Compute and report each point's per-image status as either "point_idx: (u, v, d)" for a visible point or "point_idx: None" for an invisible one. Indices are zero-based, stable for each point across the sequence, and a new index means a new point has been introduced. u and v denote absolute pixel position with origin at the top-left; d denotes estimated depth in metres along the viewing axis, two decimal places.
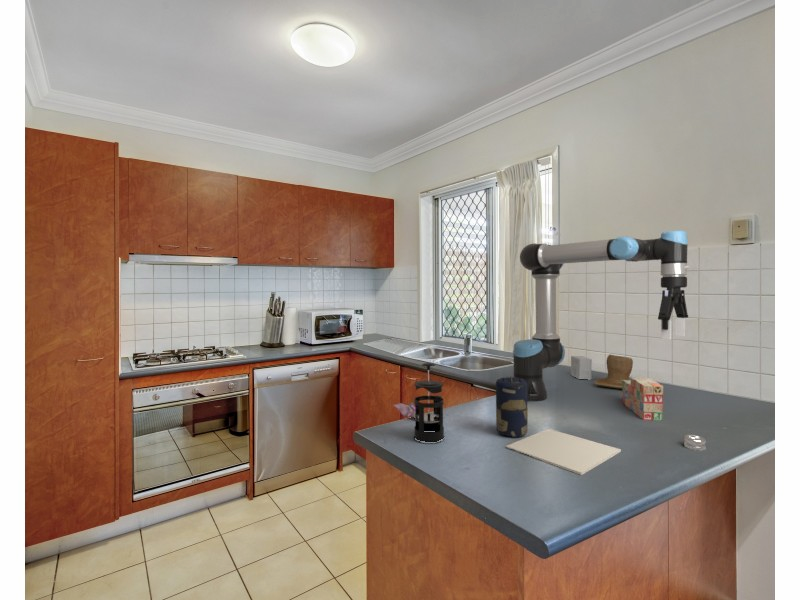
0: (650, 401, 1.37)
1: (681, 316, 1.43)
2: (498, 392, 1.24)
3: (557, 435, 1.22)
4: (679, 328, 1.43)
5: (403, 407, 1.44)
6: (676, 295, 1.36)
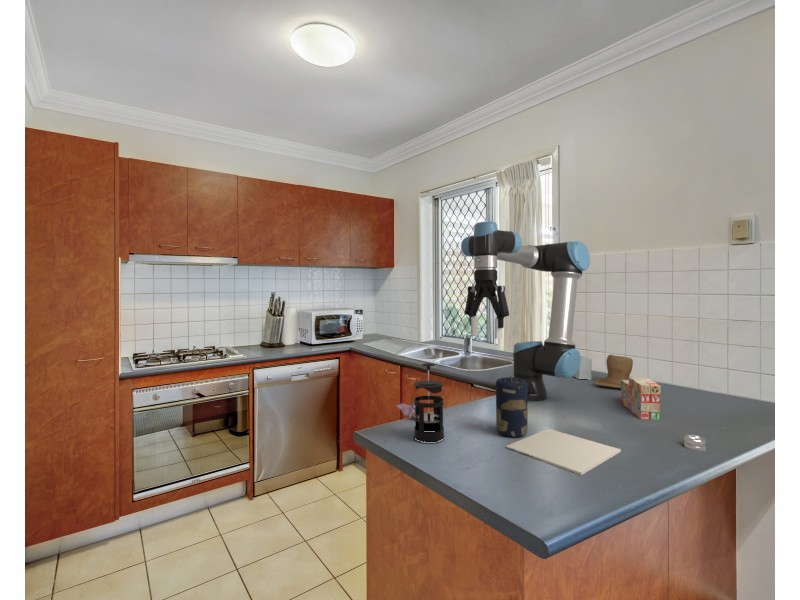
0: (647, 401, 1.38)
1: None
2: (498, 392, 1.24)
3: (557, 435, 1.22)
4: None
5: (405, 407, 1.44)
6: None
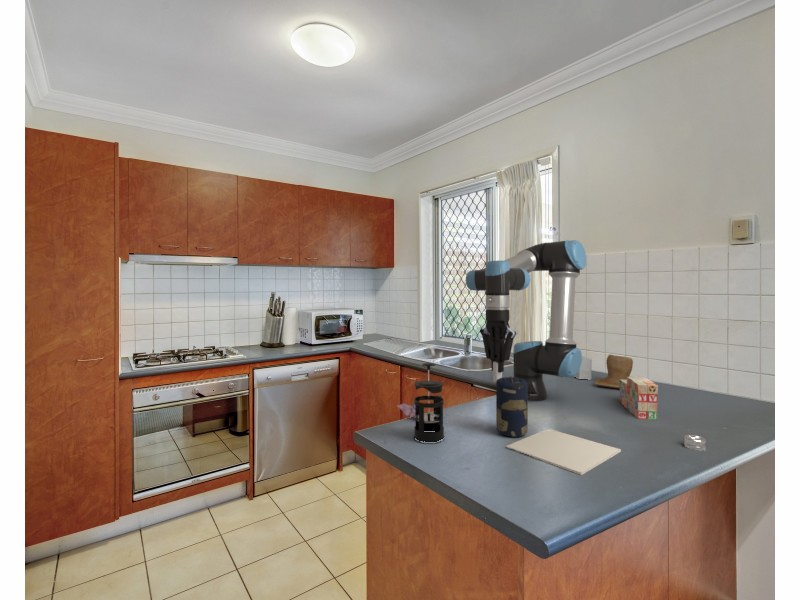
0: (645, 400, 1.38)
1: None
2: (498, 392, 1.24)
3: (557, 435, 1.22)
4: None
5: (406, 407, 1.43)
6: None
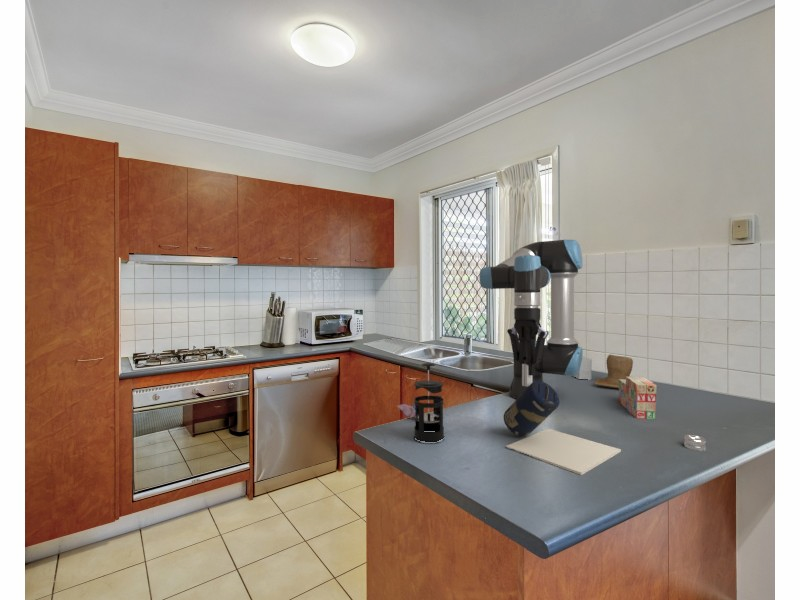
0: (643, 400, 1.39)
1: None
2: (527, 398, 1.16)
3: (557, 435, 1.22)
4: None
5: (406, 408, 1.43)
6: None
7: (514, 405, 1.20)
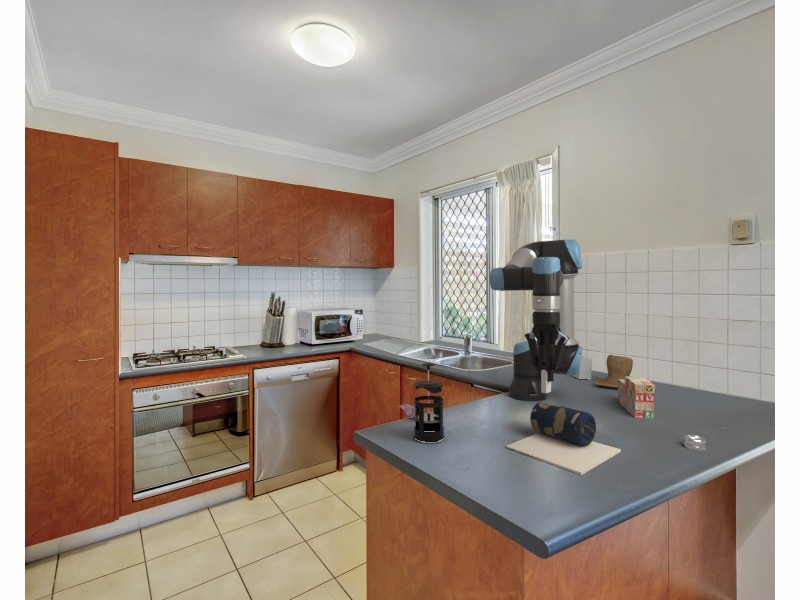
0: (642, 400, 1.39)
1: None
2: (578, 410, 1.16)
3: None
4: None
5: (408, 408, 1.43)
6: None
7: None
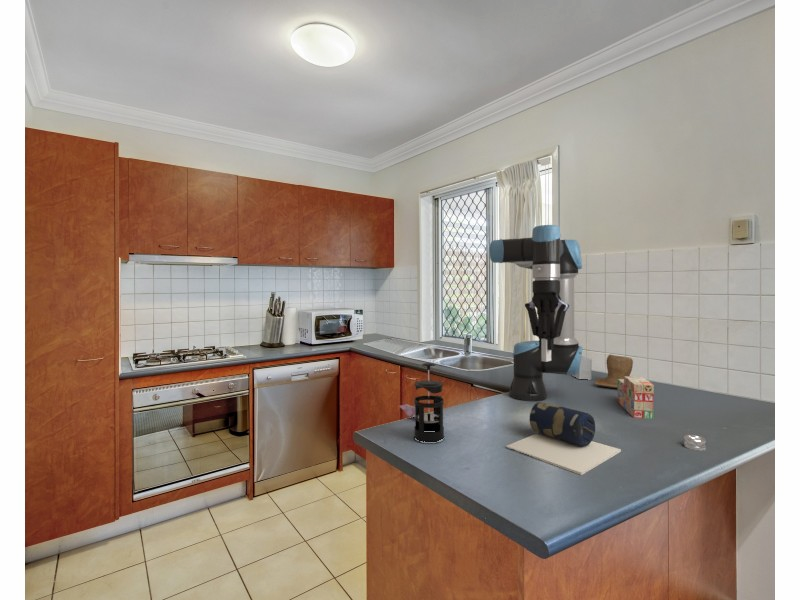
0: (641, 399, 1.39)
1: None
2: (576, 411, 1.15)
3: None
4: None
5: (408, 408, 1.43)
6: None
7: (560, 406, 1.21)
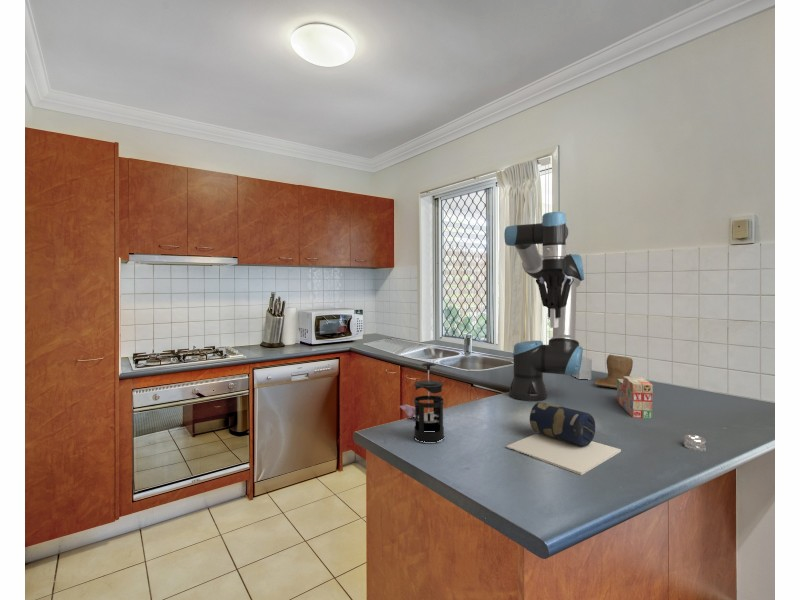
0: (639, 399, 1.39)
1: None
2: (576, 411, 1.15)
3: None
4: None
5: (408, 408, 1.42)
6: None
7: (561, 406, 1.21)
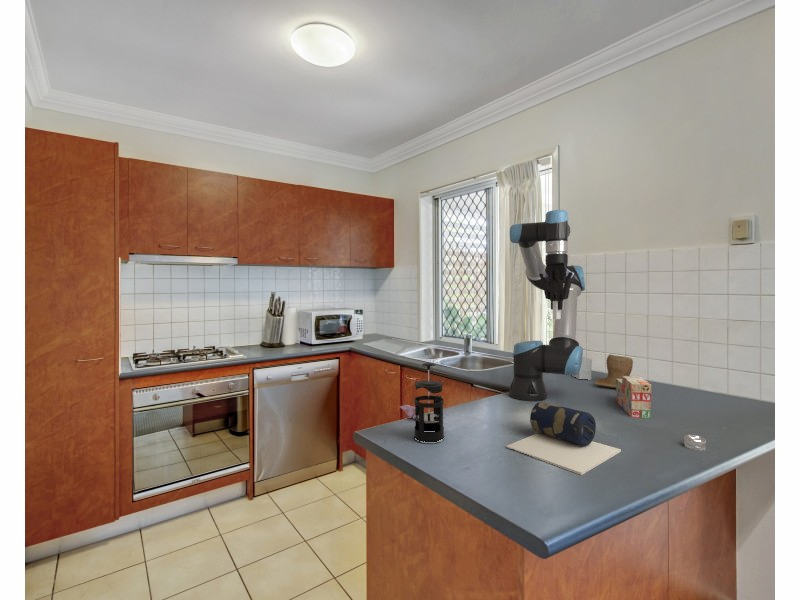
0: (638, 399, 1.40)
1: None
2: (577, 410, 1.16)
3: None
4: None
5: (409, 408, 1.42)
6: None
7: None
